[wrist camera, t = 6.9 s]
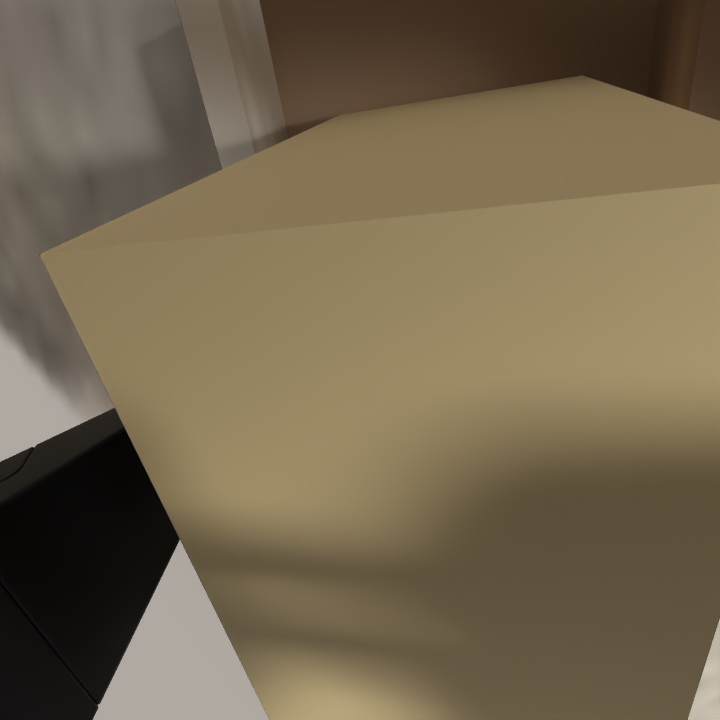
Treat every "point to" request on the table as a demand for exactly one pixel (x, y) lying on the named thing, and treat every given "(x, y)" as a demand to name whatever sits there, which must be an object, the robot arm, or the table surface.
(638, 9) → the shelf
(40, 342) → the table surface
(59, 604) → the robot arm
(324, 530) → the carton
